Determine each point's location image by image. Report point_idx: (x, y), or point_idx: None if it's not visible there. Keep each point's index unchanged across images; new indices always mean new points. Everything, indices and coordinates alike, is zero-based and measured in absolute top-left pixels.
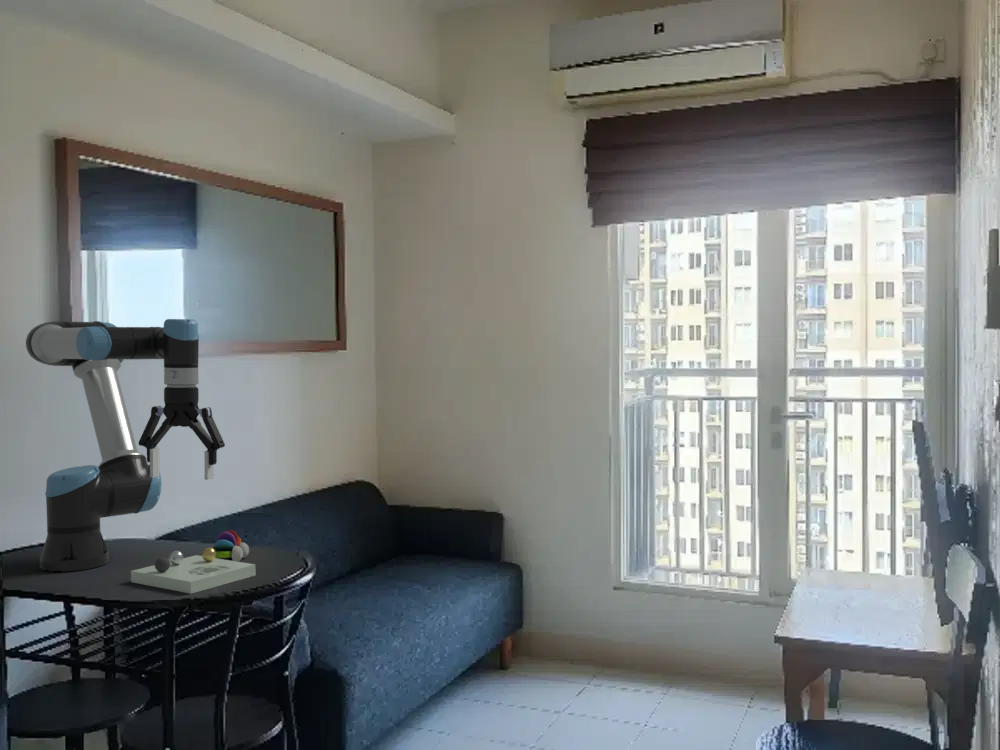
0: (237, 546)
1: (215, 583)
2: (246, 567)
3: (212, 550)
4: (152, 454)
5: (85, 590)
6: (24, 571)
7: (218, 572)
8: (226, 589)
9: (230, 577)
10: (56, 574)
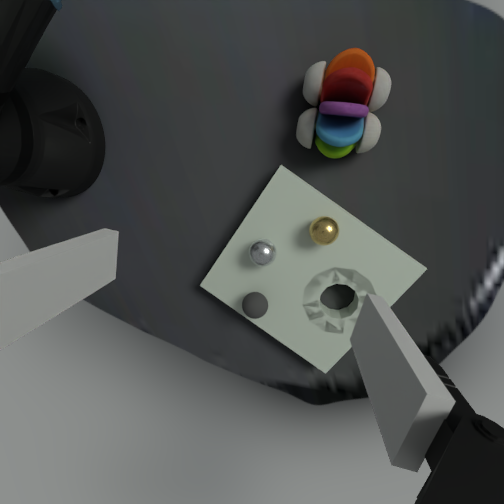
0: (372, 131)
1: None
2: (409, 286)
3: (334, 239)
4: (26, 330)
5: (159, 316)
6: None
7: None
8: None
9: None
10: (64, 209)
